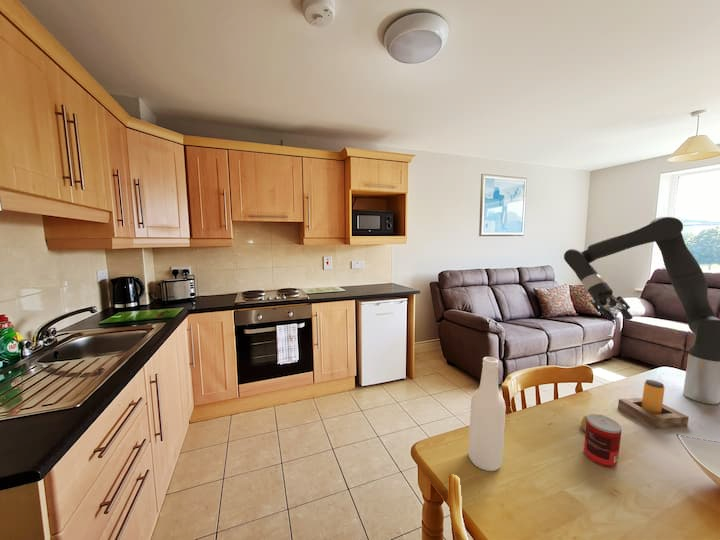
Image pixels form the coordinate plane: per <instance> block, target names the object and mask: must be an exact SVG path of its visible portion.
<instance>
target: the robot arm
mask: <svg viewBox="0 0 720 540" xmlns="http://www.w3.org/2000/svg"><path fill="white" fill-rule="evenodd" d="M683 229H684V225H683V222H682V221H681V220H680V219H679V218H677V217H674V216H669V215H664V216H658V217H656V218H654V219H653V220H651V221H650V222H649V224H647V225H645V226H643V227H640V228H637V229H636V230H633V231H630V232H627V233H624V234H620V235H615V236H612V237H609V238H606V239H603V240H601V241H598V242H594V243H593V244H590V245H588V246H587V249H585V250H584V251H583V250H582V251H580V250H578V249H577V248H570V249H568V250H566V251H565V252H564V254H563V259H564V261H565V262H566V263H567V264H568V266H569V268H570V269H572V271H573V272H574V274H576V277H577V278H578V279H579V281H580V282H581V284H582V285H583V288H584V289H585V290H586V292H587V293H588V294H589V296H590V297H591V298H590V300H589V301H590V303H591V304H592V306H593V308H594V309H595V310H596V312H597V313H601V314H603V315H604V316H605V317H606V319H607V320H608V321H609V322H613V321H615V320H616V317H615V316H614V314H613V313H612V312H611V311H610V310H609V309H610V308H611V309H614V310H617V311H619V312H620V313H621V315H622V316H623V317H624V318H625V320H626V321H631V320H632V319H633V315H632V314H631V313H630V312H629V311H628V310H629V309H630V308H631V307H630V304H628V302H626V300H625V299H624V298H623V297H622V296H621V295H618V296H617V297H616V296H615V295H613V292H614V291H613V289H612V288H611V286H610V285H608V283H607V282H606V280H605V279H604V278H603V277H602V276H601V275H600V274H599V273H598V272H597V270H596V269H594V267H593V266H592V265H591V263H593V262H594V261H597V260H598V259H601V258H604V257H608V256H611V255H614V254H617V253H620V252H622V251H625V250H629V249H632V248H635V247H639V246H642V245H647V244H650V243H655V244H656V245H657V247H658V249H659V250H660V253H661V256H662V261H663V264H664V267H665V271H666V273H667V275H668V276H667V277H668V279H669V281H670V282H671V283H670V284H671V285H672V287H673V290H674V291H675V294H676V296H677V297H678V299H679V301H680V302H681V305H682V307H683V311H684V314H685V317H686V321H687V325H688V328H689V330H690V331H691V332H692V333H693V334H694V335H695V340H694V344H693V345H691V346H690V347H689V349H688V354H687V363H686V370H685V377H684V383H683V390H682V392H683V393H682V394H683V396H685V397H686V398H688V399H690V400H693V401H695V402H699V403H702V404H707V405H719V403H720V318H718V317H717V315H716V314H715V312H714V311H713V308H712V307H711V305H710V302H709V299H708V292H709V291H708V288H709V287H708V281H707V279H706V275H705V274H704V272H703V270H702V268H701V266H700V264H699V263H698V260H697V259H696V258H695V256H694V255H693V254H692V252H691V251H690V250H689V248H688V247H687V245H686V243H685V239H684V237H683V233H682V232H683Z"/></svg>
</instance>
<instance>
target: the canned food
mask: <svg viewBox="0 0 720 540" xmlns="http://www.w3.org/2000/svg"><path fill="white" fill-rule="evenodd" d="M621 437H622V426H621V424H620V423H618V422H617V421H615V420H614V419H612V418H611V417H608V416H606V415H602V414H597V413H591V414H588V415H587V421H586V431H585V433H584V443H583V451H584V454H585V456H586V457H587V458H588V459H589V460H590V461H592V462H594V464H597V465H599V466H602V467H606V468H613V467H616V466H617V464H618V462H619V453H620V445H621V439H622V438H621Z"/></svg>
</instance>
